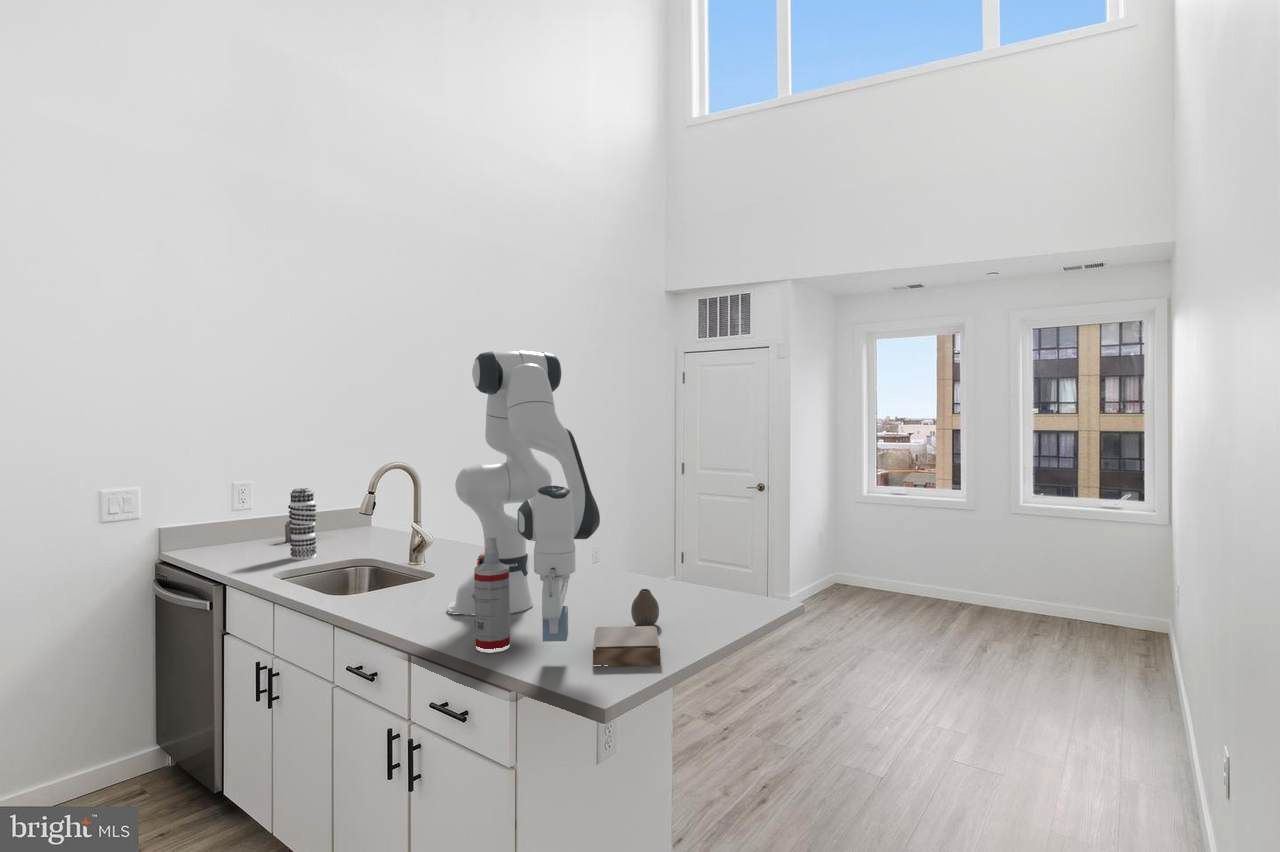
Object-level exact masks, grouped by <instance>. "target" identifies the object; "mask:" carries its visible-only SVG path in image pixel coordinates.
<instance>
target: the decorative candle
mask: <svg viewBox="0 0 1280 852" xmlns="http://www.w3.org/2000/svg"><path fill="white" fill-rule="evenodd" d="M314 493H315V492H314V491H313V490H312V489H311V488H310V487H309V488H308V487H298V488H294V489H293V490H291V492H290V493H289V495H290V502H289V505H288V506H287V507H288V509H289V511H288V514H289V515H288V518H289V519H290V520H291V521H289V520H288V521H289V522H290V524H291V525H290V527H291V528H292V529H291V531H292V533H291V538H292V539H290V543H289V545H290V559H291V560H292V561H294V560H295V561H301V560H302V561H304V560H310V559H314V558H316V557H317V550H316V549H317V546H316V543H317V541H315V540H316V539H317V537H316V532H314V526H315V525H316V522H315V521H317V519H316V518H315V517H316V516H317V515H316V514H315V513H314V512H316V511H317V509H315V508H316V507H317V505H316V504H315V500H314Z"/></svg>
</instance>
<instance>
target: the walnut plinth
mask: <svg viewBox="0 0 1280 852" xmlns="http://www.w3.org/2000/svg"><path fill="white" fill-rule="evenodd" d="M593 634H594V635H593V646H592V666H593V665H601V666H602V667H605V666H604V665H608V666H607V667H634V666H635V667H639V666H642V667H643V666H647V667H648V666H661V647H660V642H659V641H660V639H659V636H658V635H659V634H658V628H657V626H655V625H653V626H637V625H636V626H597V627H595V628H594V633H593Z"/></svg>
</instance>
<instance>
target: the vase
mask: <svg viewBox="0 0 1280 852" xmlns="http://www.w3.org/2000/svg"><path fill="white" fill-rule="evenodd" d="M630 611H631V612H630V614H631V619H632V621H633V622H634V624H635V625H636V626H655V625H656V623H657V622H658V619H659V616H660V607H659V603H658V601H657V599H656V598H655V596H654V595H653V594H652V592H651V590H650V589H649V588H641V589H640V590H639V592H638V594H637V595H636V596H635V598H634V599H633V601H632V604H631V608H630Z"/></svg>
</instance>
